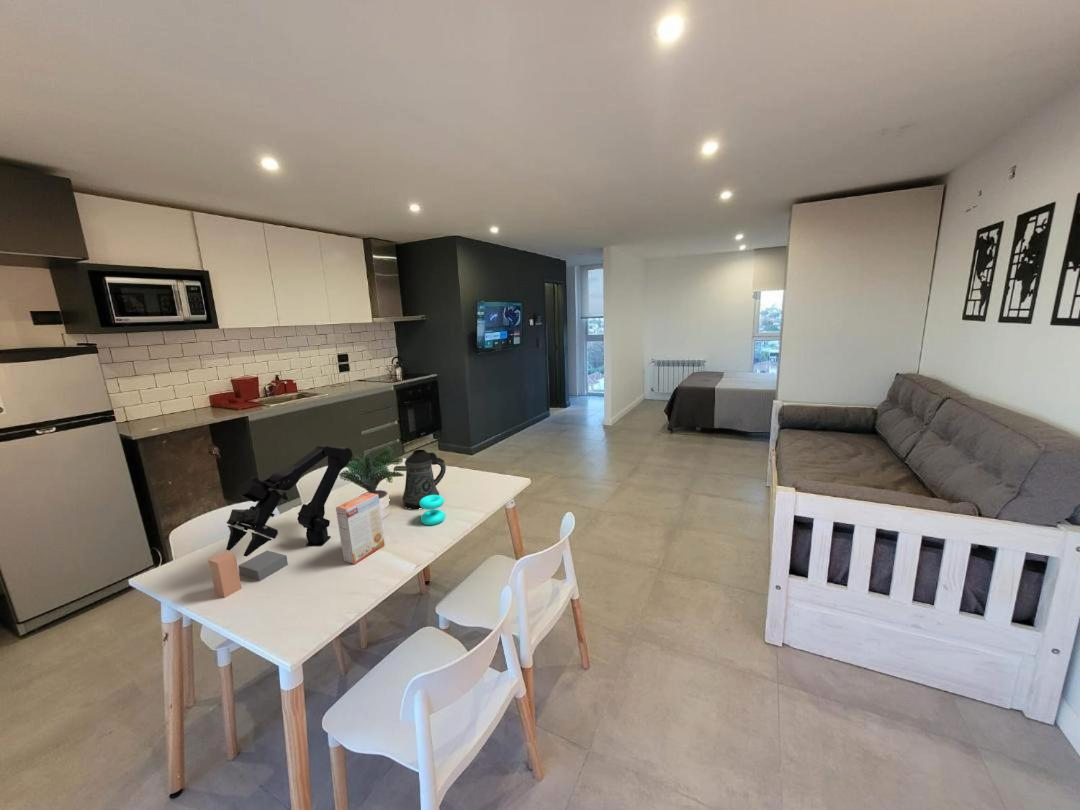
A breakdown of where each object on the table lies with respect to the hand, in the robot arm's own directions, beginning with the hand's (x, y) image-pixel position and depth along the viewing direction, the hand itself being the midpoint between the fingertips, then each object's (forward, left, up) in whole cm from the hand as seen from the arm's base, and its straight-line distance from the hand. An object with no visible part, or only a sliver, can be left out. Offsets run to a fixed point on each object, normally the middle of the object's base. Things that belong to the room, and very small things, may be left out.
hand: (236, 553), depth 134 cm
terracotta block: (+1, +4, -11) cm, 12 cm away
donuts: (-51, -43, -11) cm, 67 cm away
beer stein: (-41, -62, -11) cm, 75 cm away
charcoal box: (-2, -8, -11) cm, 14 cm away
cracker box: (-33, -18, -11) cm, 39 cm away
